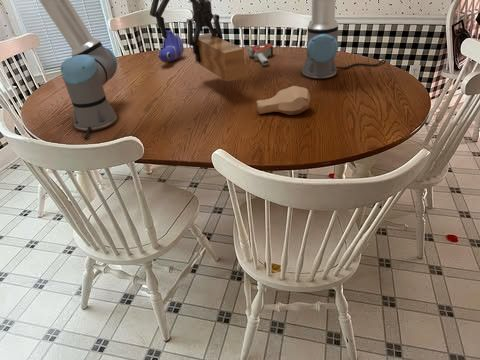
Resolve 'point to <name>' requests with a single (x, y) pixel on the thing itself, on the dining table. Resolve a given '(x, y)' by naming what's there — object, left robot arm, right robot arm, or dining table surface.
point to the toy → (171, 48)
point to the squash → (286, 101)
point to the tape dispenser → (261, 53)
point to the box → (221, 57)
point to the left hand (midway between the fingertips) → (182, 34)
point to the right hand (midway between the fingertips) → (207, 59)
